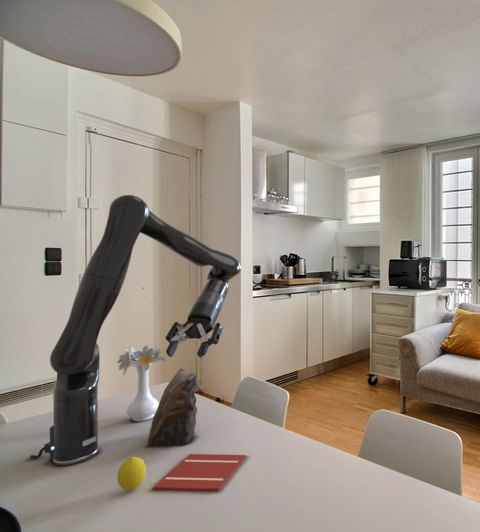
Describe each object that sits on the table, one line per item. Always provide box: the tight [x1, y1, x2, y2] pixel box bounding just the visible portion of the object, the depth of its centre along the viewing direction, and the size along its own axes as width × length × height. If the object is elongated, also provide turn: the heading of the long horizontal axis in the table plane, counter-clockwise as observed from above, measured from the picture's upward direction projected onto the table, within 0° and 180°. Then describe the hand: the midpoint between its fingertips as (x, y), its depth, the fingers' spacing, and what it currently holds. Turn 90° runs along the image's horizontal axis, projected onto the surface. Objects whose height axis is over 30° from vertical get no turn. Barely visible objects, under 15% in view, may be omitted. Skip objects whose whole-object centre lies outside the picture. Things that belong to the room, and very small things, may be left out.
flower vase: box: [116, 345, 167, 422], centre depth 127 cm, size 13×18×25 cm
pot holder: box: [152, 453, 247, 492], centre depth 96 cm, size 16×15×1 cm
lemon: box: [116, 456, 147, 491], centre depth 88 cm, size 6×6×8 cm
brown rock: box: [146, 368, 198, 448], centre depth 113 cm, size 13×13×20 cm
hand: (184, 355), depth 102 cm, fingers open, 8 cm apart
